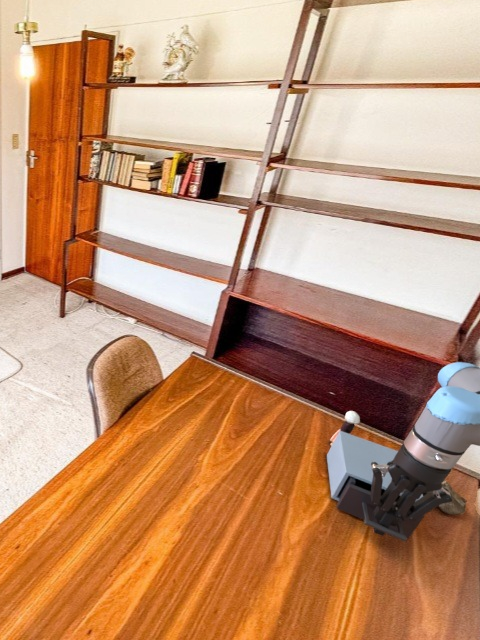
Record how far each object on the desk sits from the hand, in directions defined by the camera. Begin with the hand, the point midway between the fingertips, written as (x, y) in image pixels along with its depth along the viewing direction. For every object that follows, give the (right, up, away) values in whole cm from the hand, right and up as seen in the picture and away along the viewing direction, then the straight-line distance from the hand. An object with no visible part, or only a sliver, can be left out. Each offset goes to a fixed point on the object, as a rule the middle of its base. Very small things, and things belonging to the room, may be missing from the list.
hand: (377, 529), depth 89 cm
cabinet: (+8, +2, +13) cm, 15 cm away
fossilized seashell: (+24, +1, +11) cm, 26 cm away
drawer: (+4, +1, +7) cm, 8 cm away
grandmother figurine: (+11, +8, +25) cm, 29 cm away
